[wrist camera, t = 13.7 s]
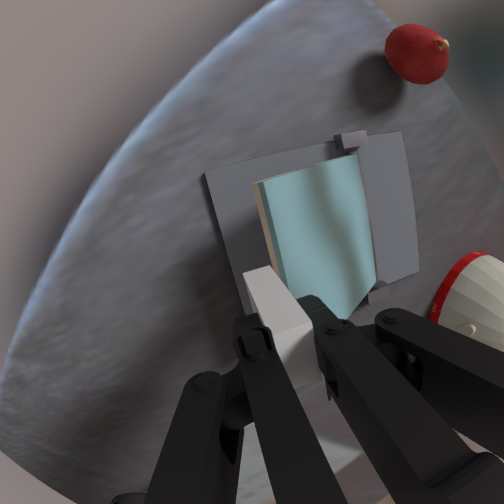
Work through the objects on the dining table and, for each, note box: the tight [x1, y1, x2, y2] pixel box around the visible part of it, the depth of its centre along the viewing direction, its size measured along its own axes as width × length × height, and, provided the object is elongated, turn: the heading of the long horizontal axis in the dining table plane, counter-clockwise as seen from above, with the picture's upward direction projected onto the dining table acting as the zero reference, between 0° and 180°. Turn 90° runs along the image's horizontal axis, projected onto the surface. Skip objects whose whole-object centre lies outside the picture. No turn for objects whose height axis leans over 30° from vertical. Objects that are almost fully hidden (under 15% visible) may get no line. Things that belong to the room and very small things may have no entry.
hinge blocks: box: [334, 130, 390, 305], centre depth 25 cm, size 2×15×1 cm, turn 14°
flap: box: [252, 151, 378, 319], centre depth 21 cm, size 13×12×1 cm
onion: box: [385, 24, 449, 84], centre depth 19 cm, size 6×6×8 cm
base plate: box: [205, 131, 419, 316], centre depth 25 cm, size 18×14×1 cm
